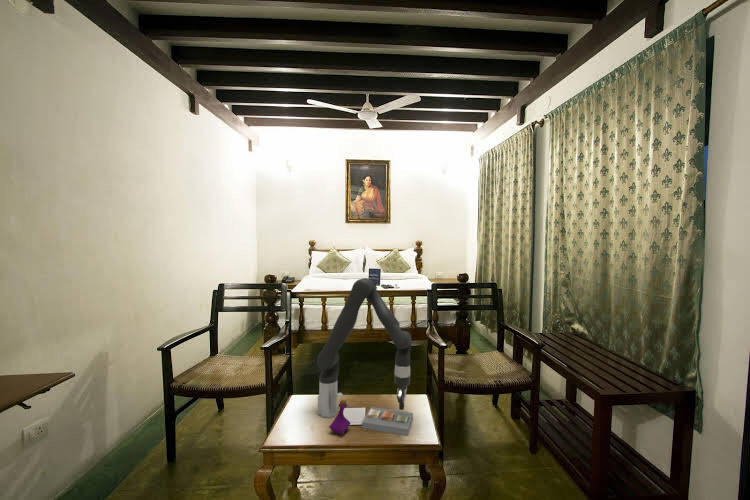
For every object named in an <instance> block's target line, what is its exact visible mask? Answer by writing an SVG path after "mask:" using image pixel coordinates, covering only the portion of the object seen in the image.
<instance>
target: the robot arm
mask: <svg viewBox="0 0 750 500" xmlns="http://www.w3.org/2000/svg"><path fill="white" fill-rule="evenodd" d="M366 299H367V300H368V301H369V303H370V304H371V306H372V307H373V310H374V311H375V314H376V316H377V318H378V320H379V322H380V323H381V324H382V326H383V327H384V328H385V330H386V331H387V332H388V335H389V337H390V339H391V341H392V342H393V344H394V346H395V347H397V350H396V353H395V362H394V363H395V364H394V382H393V383H394V384H395V385H396V386H398V387H397V389H396V390H397V392H396V393H397V395H396V399H397V403H399V404H398V407H399V411H404V410H405V402H406V401H405V400H406V396H407V389H408V386H410V384H411V349H412V343H413V342H412V336H411V334H410V332H409V331H406V330H402V328H401V326H400V322H399V321H398V319H397V318H396V316H395V315H394V313H393V312H392V311H391V309H389V307H388V305H387V304H386V303H385V301H384V300H383V298H382V296H381V295H380V293H379V291H378V289H377V288H376V285H375V284H374V282H373V281H372V280H371V279H370V278H367V277H363V278H359V279H357V280H356V281H355V282H354V283H353V285H352V287H351V290H350V293H349V295H348V298H347V300H346V303H345V304H344V306H343V308H342V310H341V312H340V313H339V315H338V317H337V319H336V321H335V323H334V325H333V327H332V330H331V332H330V334H329V336H328V338H327V340H326V342H325V344H324V346H323V348H322V349H321V351H320V352H319V353H318V356H317V358H316V364H317V366H318V368H319V369H320V370H321V371H320V374H319V376H318V377H319V381H318V382H319V387H318V388H319V394H318V396H317V415H318V416H320V417H323V418H333V417H336V416H337V415H338V395H337V394H338V376H339V373H340V354H339V350H340V348H341V347H342V345H343V344H345V342H346V340H347V339H348V338H349V337H350V335H351V333H352V331H353V329H354V327H355V325H356V322H357V319H358V316H359V311H360V309H361V307H362V305H363V303H364V301H365V300H366ZM336 395H337V397H336Z"/></svg>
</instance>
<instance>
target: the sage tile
mask: <svg viewBox="0 0 750 500" xmlns="http://www.w3.org/2000/svg"><path fill="white" fill-rule="evenodd" d="M396 422H401V423H407V422H408V416H401V415H398V417H397V419H396Z"/></svg>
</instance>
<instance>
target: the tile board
mask: <svg viewBox="0 0 750 500" xmlns="http://www.w3.org/2000/svg"><path fill="white" fill-rule="evenodd" d="M371 409H374V410H380V411H381V415H380V417H379V419H374V418H368V413H369V412H370V410H371ZM384 411H387V412H394V418H393V421H387V420H382V415H383V413H384ZM398 415H401V416H408V422H407V423H401V422H396V419H397V417H398ZM413 420H414V412H411V411H410V412H409V411H404V410H397V409H395V410H394V409H390V408H389V409H388V408H382V407H376V406H374V407H373V406H370V408H369V409H368V411H367V413H366V414H365V416H364V418H363V420H362V421H361V429H362V430H363V429H364V430H371V431H377V432H384V433H388V434H390V433H391V434H396V435H402V436H407V437H408V435H409V433H410V430H411V426H412V423H413Z"/></svg>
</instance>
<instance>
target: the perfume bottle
mask: <svg viewBox="0 0 750 500" xmlns="http://www.w3.org/2000/svg"><path fill="white" fill-rule="evenodd" d="M336 397H337V398H338V397H339V398H341V400H340V401H339V404H338V407H339V411H338V412H337V414H336V416H335V418H334V420H333V421H332V422H331V424H330V425H329V427H328V428H329V429H330V430H331V431H332V432H333V434H336V435H340V436H342V435H344V434H345V432H347V430H348V428H349V427H350V425H351V424H352V423H351V421H350V420H349V419H347V417H345V416H344V411H345V409H346V408H347V407H348V403H347V400H345V399H344V394H343V393H342V392H337V395H336Z"/></svg>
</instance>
